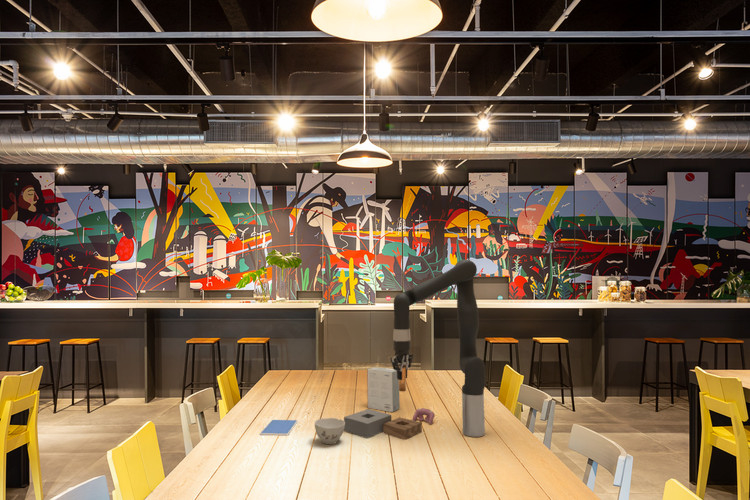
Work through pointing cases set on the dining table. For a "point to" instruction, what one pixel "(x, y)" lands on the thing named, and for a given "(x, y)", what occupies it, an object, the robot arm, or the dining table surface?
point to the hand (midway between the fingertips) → (402, 378)
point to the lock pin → (403, 380)
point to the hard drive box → (383, 389)
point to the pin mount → (402, 428)
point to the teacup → (329, 429)
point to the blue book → (279, 427)
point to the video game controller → (423, 411)
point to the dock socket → (366, 423)
